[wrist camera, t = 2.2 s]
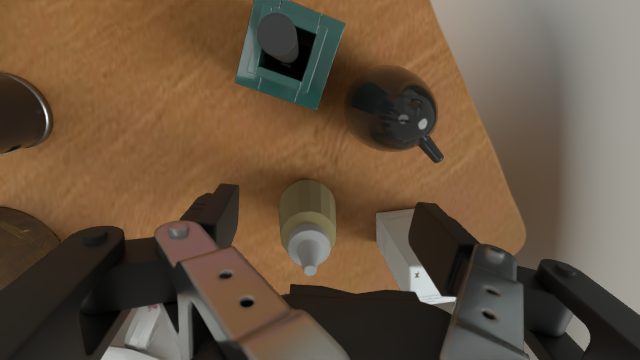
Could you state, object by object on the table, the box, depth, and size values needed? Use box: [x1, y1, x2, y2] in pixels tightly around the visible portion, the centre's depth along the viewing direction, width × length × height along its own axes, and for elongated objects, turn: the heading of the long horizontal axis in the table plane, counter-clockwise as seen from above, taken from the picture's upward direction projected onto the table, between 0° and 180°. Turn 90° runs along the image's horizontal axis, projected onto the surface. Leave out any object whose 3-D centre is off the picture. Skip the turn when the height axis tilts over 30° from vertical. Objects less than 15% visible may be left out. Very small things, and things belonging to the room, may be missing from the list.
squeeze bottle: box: [278, 179, 336, 276], centre depth 37 cm, size 8×8×18 cm
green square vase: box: [235, 0, 345, 111], centre depth 32 cm, size 9×9×14 cm
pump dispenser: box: [344, 65, 444, 163], centre depth 34 cm, size 10×10×15 cm
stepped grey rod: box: [257, 13, 299, 69], centre depth 27 cm, size 2×3×25 cm
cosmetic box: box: [376, 209, 456, 304], centre depth 41 cm, size 8×6×15 cm
